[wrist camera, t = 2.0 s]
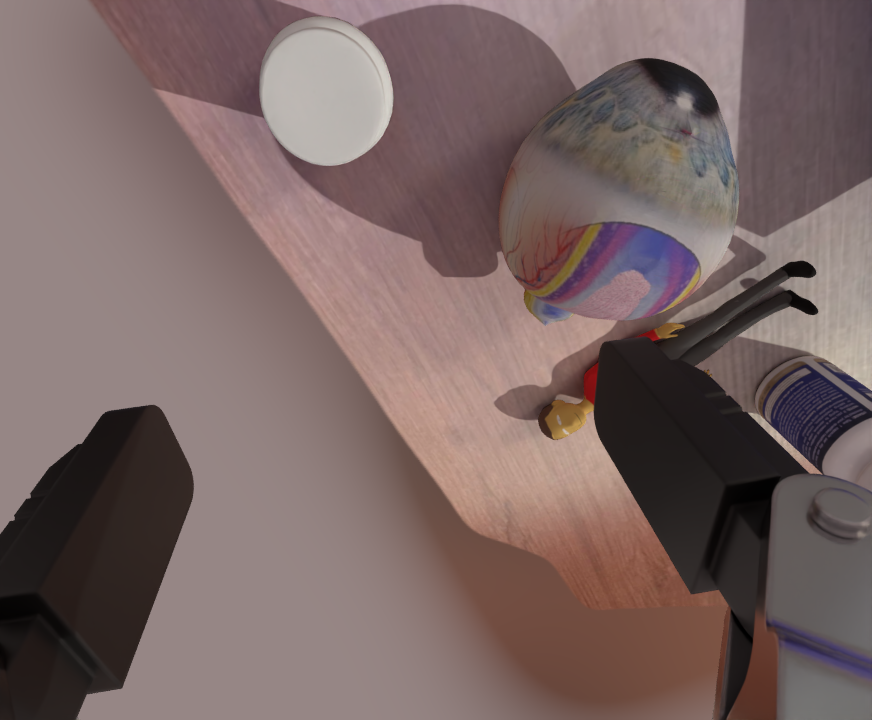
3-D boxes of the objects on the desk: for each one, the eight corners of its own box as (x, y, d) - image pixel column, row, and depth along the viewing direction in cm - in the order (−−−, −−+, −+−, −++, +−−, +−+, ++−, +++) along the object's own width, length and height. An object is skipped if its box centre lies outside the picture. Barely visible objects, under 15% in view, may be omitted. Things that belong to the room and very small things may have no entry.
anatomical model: (714, 136, 27) (874, 180, 18) (563, 318, 32) (635, 419, 23) (578, 11, 23) (700, -6, 15) (431, 239, 28) (459, 325, 19)
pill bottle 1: (262, 42, 22) (214, 44, 15) (364, 4, 22) (364, -13, 15) (309, 152, 25) (287, 197, 18) (400, 118, 24) (415, 151, 17)
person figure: (843, 331, 29) (566, 477, 33) (800, 317, 33) (556, 449, 37) (809, 256, 28) (526, 415, 32) (768, 250, 32) (520, 393, 35)
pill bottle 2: (747, 424, 39) (852, 531, 30) (756, 364, 35) (876, 464, 27) (821, 405, 38) (948, 507, 30) (836, 343, 35) (983, 438, 27)
